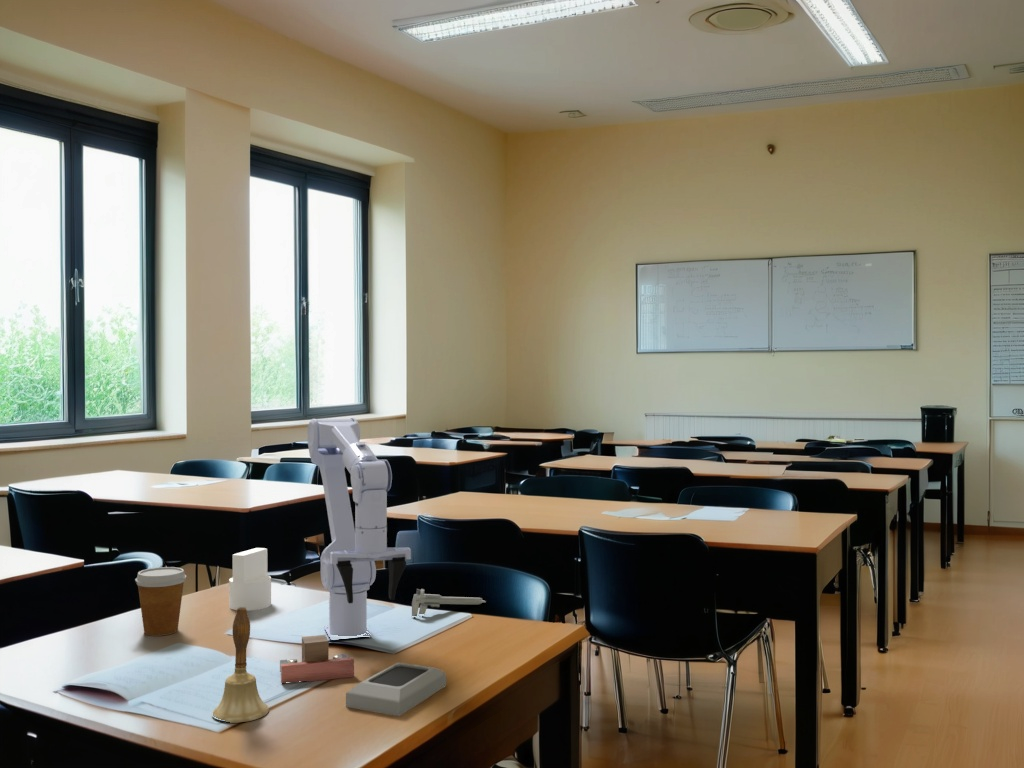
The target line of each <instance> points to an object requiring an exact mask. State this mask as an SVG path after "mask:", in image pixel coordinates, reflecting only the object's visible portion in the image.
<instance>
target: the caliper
mask: <svg viewBox="0 0 1024 768" xmlns="http://www.w3.org/2000/svg"><path fill="white" fill-rule="evenodd" d="M486 602H487V600H483V598H482V597H472V596H471V597H469V596H468V597H467V596H466V597H465V596H442V595H440V594H434V593H433V594H431V593H425V589H424V588H421V589H420V588H416V593H414V594H413V598H412V601H411V617H412V616H417V617H418V615H419V614H424V615H425V613H426V611H427V609H428V607H430V608H438V609H439V608H440V606H441V605H470V606H471V605H472V606H473V605H481V604H482V603H484V604H485V603H486Z"/></svg>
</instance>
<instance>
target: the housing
mask: <svg viewBox="0 0 1024 768" xmlns="http://www.w3.org/2000/svg"><path fill="white" fill-rule="evenodd" d="M280 672H281V674H280V684H281V683H286V682H299V681H307V682H308V681H309V682H317V681H327V680H335V679H346V678H354V677H355V658H354V656H353V657H352V656H351V657H350V656H349V657H348V655H347V653H342V654H335V655H333V656H332V658H331V659H329V660H319V661H308V662H302V661H299V662H298V659H296V658H292V659H291V658H290V659H280V660H279V673H280ZM307 682H306V683H307ZM299 683H300V682H299Z"/></svg>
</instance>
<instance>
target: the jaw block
mask: <svg viewBox="0 0 1024 768" xmlns="http://www.w3.org/2000/svg"><path fill="white" fill-rule="evenodd" d="M326 635H327V634H319V635H309V636H301V662H308V661H319V660H329V655H330V654H329V649H330V647H329V638H327V637H328V636H326Z"/></svg>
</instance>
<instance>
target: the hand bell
mask: <svg viewBox="0 0 1024 768" xmlns="http://www.w3.org/2000/svg"><path fill="white" fill-rule="evenodd" d="M235 613H236V614H235V616H234V619H233V623H232V639H233V644H234V647H235V660H234V661H235V662H234V663H235V664H234V666H235V667H234V673H233V674H231V675H229V676H228V677H226V679H225V680H224V681H225V682H224V689H223V694H222V697H221V700H220V702H219V704H218V706H216V707H215V708H214V709H213V711H212V713H213V716H214V717H216V718H218V719H221V720H225V721H227V722H230V724H233V723H234V724H238V723H243V722H252V721H255V720H258V719H260V718H262V717H265V716H266V715H267V714H268V713H269V711H270V708H269V706H268V704H267V703H266V702H264V701H263V699H262V698H261V696H260V693H259V690H258V685H257V679H256V676H255V675H253V674H251V673H249V672H248V671H247V667H248V666H247V663H248V662H247V647H248V644H249V640H250V636H251V622H250V619H249V615H248V611H246V608H245V607H240V608H238V609H237V610H236V612H235Z"/></svg>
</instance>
